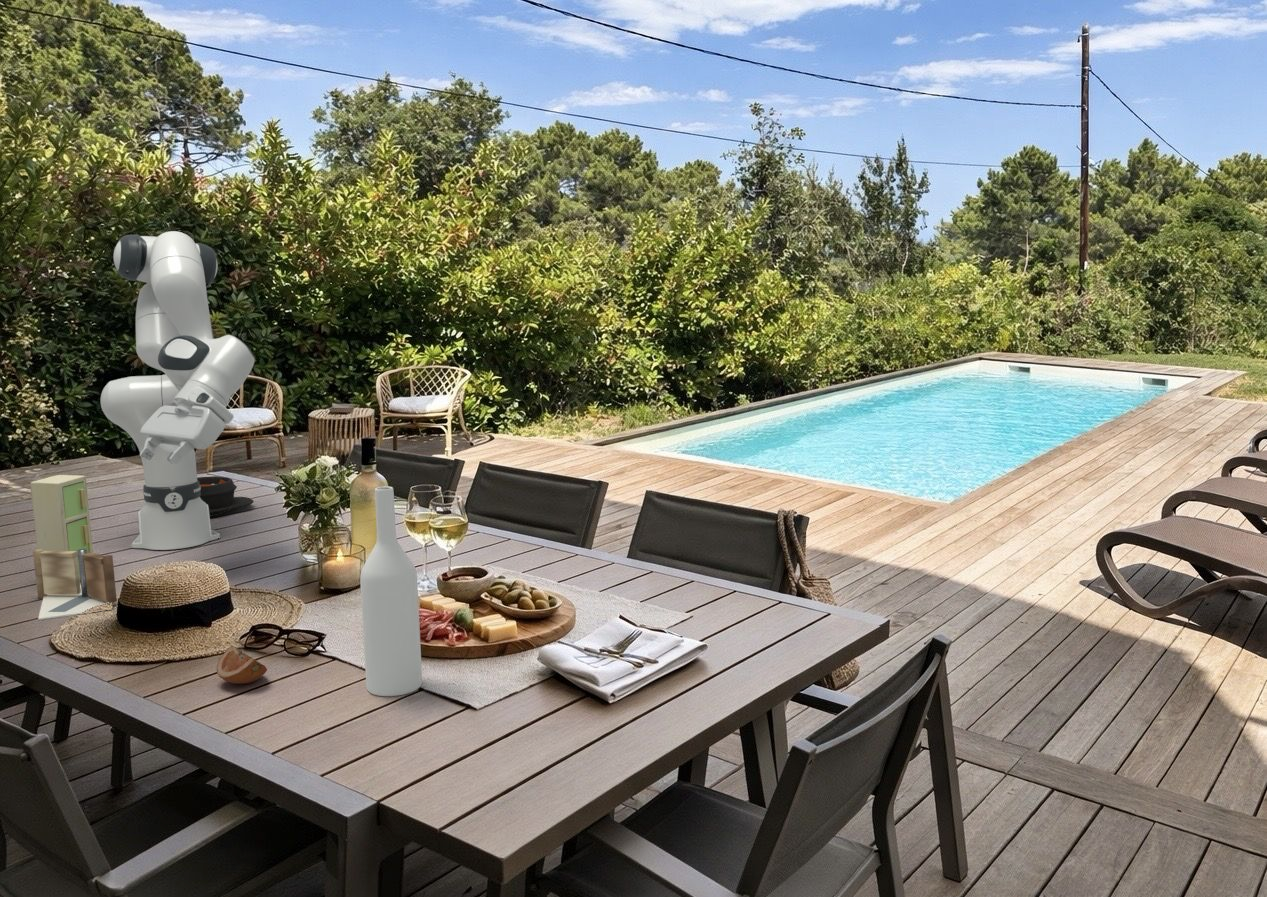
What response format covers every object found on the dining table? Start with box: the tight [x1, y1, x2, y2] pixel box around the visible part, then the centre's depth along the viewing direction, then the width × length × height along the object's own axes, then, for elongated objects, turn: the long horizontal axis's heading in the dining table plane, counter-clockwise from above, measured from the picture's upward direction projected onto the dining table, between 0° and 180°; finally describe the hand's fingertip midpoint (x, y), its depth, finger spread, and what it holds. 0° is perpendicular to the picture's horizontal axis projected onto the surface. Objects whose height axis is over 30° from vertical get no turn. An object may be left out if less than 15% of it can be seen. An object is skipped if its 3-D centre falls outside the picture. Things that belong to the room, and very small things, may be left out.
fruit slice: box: [216, 644, 268, 685], centre depth 156 cm, size 8×7×5 cm
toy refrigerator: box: [29, 474, 94, 579], centre depth 212 cm, size 8×7×21 cm
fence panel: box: [82, 552, 118, 603], centre depth 197 cm, size 8×2×9 cm, turn 56°
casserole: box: [197, 476, 254, 517], centre depth 273 cm, size 25×19×8 cm
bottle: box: [359, 485, 423, 697], centre depth 152 cm, size 8×8×30 cm
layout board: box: [37, 583, 107, 621], centre depth 199 cm, size 21×12×1 cm, turn 26°
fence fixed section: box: [32, 548, 90, 599], centre depth 200 cm, size 10×2×10 cm, turn 86°
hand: (157, 460), depth 204 cm, fingers open, 8 cm apart
